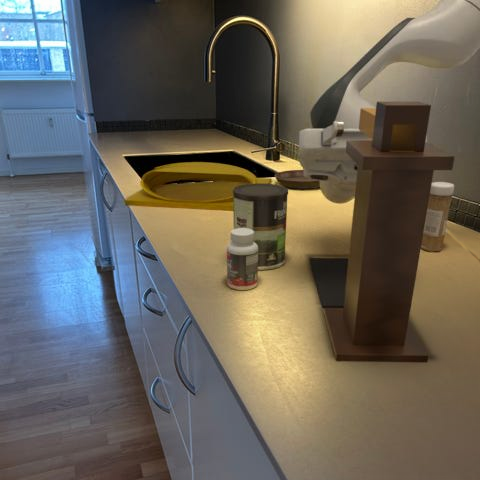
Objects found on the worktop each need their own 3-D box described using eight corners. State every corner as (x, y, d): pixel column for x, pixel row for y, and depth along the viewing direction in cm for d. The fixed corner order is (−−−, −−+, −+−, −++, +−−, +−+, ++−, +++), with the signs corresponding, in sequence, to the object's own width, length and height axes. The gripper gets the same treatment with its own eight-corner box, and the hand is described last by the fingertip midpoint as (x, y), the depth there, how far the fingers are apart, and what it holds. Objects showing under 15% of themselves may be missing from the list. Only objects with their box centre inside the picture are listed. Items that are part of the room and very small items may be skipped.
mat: (370, 259, 101) (370, 258, 101) (397, 308, 81) (398, 306, 81) (309, 259, 101) (309, 257, 101) (322, 307, 82) (322, 305, 82)
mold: (167, 178, 169) (165, 149, 165) (271, 182, 163) (272, 152, 159) (125, 205, 139) (121, 169, 135) (251, 211, 132) (251, 175, 128)
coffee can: (291, 255, 103) (294, 185, 97) (276, 273, 95) (279, 197, 88) (243, 249, 107) (243, 181, 100) (225, 266, 98) (224, 192, 92)
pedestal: (400, 314, 80) (428, 139, 68) (427, 362, 67) (467, 158, 55) (323, 313, 80) (337, 139, 68) (336, 360, 68) (356, 157, 56)
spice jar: (447, 250, 106) (459, 184, 100) (430, 253, 104) (442, 187, 98) (431, 243, 110) (442, 180, 103) (414, 246, 108) (425, 182, 102)
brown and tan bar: (385, 129, 77) (389, 93, 74) (424, 151, 59) (431, 105, 57) (351, 129, 77) (355, 93, 75) (380, 151, 59) (386, 105, 57)
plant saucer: (262, 184, 161) (262, 174, 160) (299, 176, 172) (300, 166, 170) (305, 193, 149) (306, 183, 148) (342, 184, 160) (343, 174, 159)
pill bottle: (220, 285, 90) (219, 231, 85) (241, 276, 94) (241, 224, 89) (243, 293, 87) (244, 238, 82) (263, 284, 90) (265, 230, 86)
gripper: (412, 177, 89) (442, 146, 75) (294, 177, 89) (302, 146, 75) (412, 142, 89) (442, 104, 75) (295, 142, 90) (302, 105, 76)
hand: (371, 125), depth 75 cm, fingers open, 8 cm apart
